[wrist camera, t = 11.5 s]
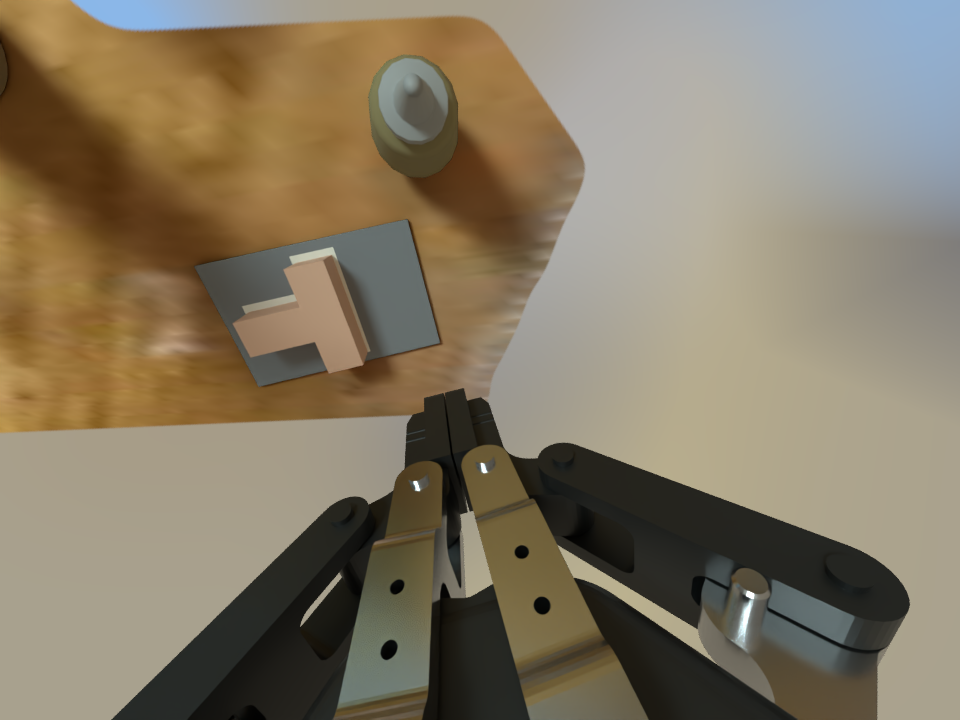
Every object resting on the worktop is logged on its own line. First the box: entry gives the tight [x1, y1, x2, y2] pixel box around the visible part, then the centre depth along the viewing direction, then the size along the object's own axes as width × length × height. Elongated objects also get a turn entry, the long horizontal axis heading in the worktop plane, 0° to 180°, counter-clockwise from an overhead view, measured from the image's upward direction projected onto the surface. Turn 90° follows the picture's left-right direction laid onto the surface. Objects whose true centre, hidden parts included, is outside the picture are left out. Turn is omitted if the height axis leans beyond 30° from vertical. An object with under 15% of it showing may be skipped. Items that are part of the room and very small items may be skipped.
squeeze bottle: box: [368, 55, 458, 178], centre depth 29 cm, size 8×8×18 cm
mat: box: [194, 219, 440, 387], centre depth 42 cm, size 15×23×1 cm, turn 101°
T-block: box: [232, 255, 368, 373], centre depth 40 cm, size 12×11×4 cm
